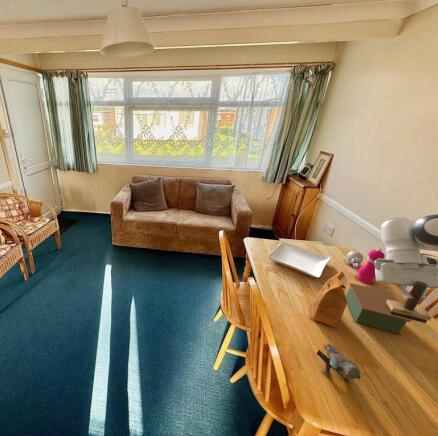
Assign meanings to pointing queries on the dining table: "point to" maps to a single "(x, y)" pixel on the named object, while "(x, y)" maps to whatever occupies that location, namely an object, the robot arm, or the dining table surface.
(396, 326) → the cabinet
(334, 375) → the dining table surface
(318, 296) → the coffee package
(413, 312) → the brush
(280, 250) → the square plate
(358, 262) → the round bodied animal figurine
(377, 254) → the pepper mill
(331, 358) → the bird figurine
